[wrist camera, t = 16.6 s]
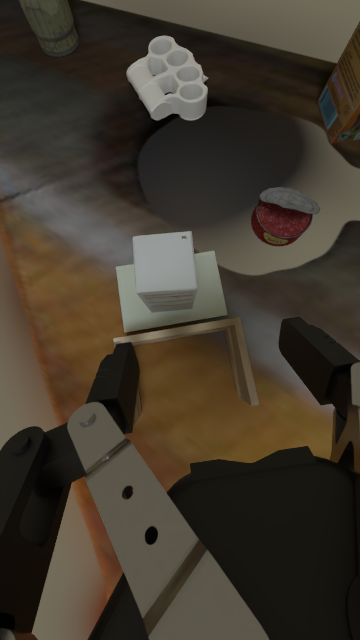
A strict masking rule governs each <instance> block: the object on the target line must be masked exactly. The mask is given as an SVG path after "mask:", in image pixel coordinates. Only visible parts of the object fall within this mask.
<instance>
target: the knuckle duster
mask: <svg viewBox="0 0 360 640" xmlns="http://www.w3.org/2000/svg"><path fill="white" fill-rule="evenodd" d="M148 51H149V53H148V55H147V56H146V57H144V58H142V59H139V60H138V61H136V62H135V63H133V64H132V65H131V66H130V67H129V68H128V70H127V78H128V81H129V82H130V83H131V84H132V86H133V87H134V89H135V91H136V92H137V94H138V95H139V99H140V100H142V102H143V103H144V105H145V107H146V108H147V110H148V112H149V113H150V116H151V118H153V119H154V120H160V119H162V118H165V117H167V116H168V115H170V114H172V113H176V114H179V115H181V116H180V117H181V118H183V119H185V120H191V121H192V120H196V119H199V118H200V117H202V116H203V114H204V113H205V110H206V101H207V92H208V89H207V87H206V86H205V85H204V82H205V81H206V80H207V79H208V77H206V76H204V75H203V72H202V69H201V65H199V64H197V63H196V62H195V61H194V59H195V58H193V54H192V53H191V52H190V51H188V50H187V49H186V48H182V47H180V46H178V45H177V44H176V43H175V41H174V38H172V37H169V36H159V37H156V38H155V39H153V40H152V41H151V42H150V44H149V48H148ZM152 75H156V76H154V77H153V76H152ZM167 92H172V93H173V94H168V95H166V96H165V93H167Z"/></svg>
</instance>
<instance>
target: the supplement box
mask: <svg viewBox="0 0 360 640" xmlns="http://www.w3.org/2000/svg"><path fill="white" fill-rule="evenodd" d="M133 255H134V271H135V285H136V293H137V294H138V296H139V297H140V298H141V300H142V301H143V302H144V303H145V305H146V306H147V307H148V309H149V310H150V311H151V312H152V313H154V312H164V311H175V310H186V309H192V308H193V304H194V300H195V297H196V293H197V288H198V285H197V276H196V267H195V256H194V249H193V240H192V232H191V231H187V232H176V233H165V234H154V235H143V236H134V237H133Z"/></svg>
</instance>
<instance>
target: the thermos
mask: <svg viewBox="0 0 360 640" xmlns="http://www.w3.org/2000/svg"><path fill="white" fill-rule="evenodd" d="M19 1H20V4H21V7H22V9H23V11H24V13H25V15H26V18H27V20H28V22H29V24H30V26H31V28H32V30H33V32H34V33H35V35H36V37H37V39H38V41H39V44H40V46H41V48H42V50H43V51H44V52H45V53H46V54H48V55H50V56H53V57H62V56H66V55H68V54H70V53H72V52H73V51H74V50H75V49H76V48H77V46H78V44H79V37H78V34H77V31H76V29H75V26H74V20H73V16H72V13H71V10H70V7H69V3H68V0H19Z"/></svg>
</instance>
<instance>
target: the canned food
mask: <svg viewBox="0 0 360 640" xmlns="http://www.w3.org/2000/svg"><path fill="white" fill-rule="evenodd" d="M319 211H320V208H319V206H318V204H317V203H316V202H315V201H314V200H313V199H312V198H311V197H309V196H307V195H305V194H303V193H302V192H299V191H297V190H294V189H292V188H287V187H277V188H269V189H267V190H265V191H263V192H262V193H261V195H260V200H259V201H258V204H257V206H256V207H255V209H254V211H253V213H252V216H251V225H252V229H253V231H254V233H255V235H256V236H257V237H258V238H259V239H260V240H261V241H262V242H264V243H266V244H269V245H272V246H285V245H289V244H291V243H293V242H294V241H296V240H297V238H298V237H300V236H301V235H302V234H303V233H304V232H305V231H306V230H307V229H308V227H309V226H310V224H311V221H312V217H313V214H316V213H319Z"/></svg>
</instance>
